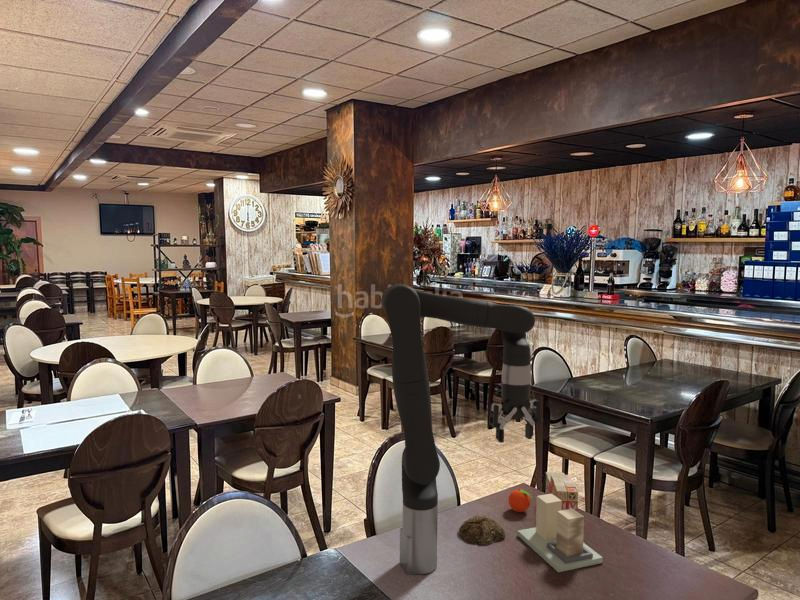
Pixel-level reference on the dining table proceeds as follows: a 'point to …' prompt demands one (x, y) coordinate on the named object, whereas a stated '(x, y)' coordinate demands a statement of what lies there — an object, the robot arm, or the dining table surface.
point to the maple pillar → (570, 532)
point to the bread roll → (481, 531)
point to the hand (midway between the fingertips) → (514, 440)
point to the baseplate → (554, 538)
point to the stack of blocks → (562, 489)
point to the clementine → (519, 500)
